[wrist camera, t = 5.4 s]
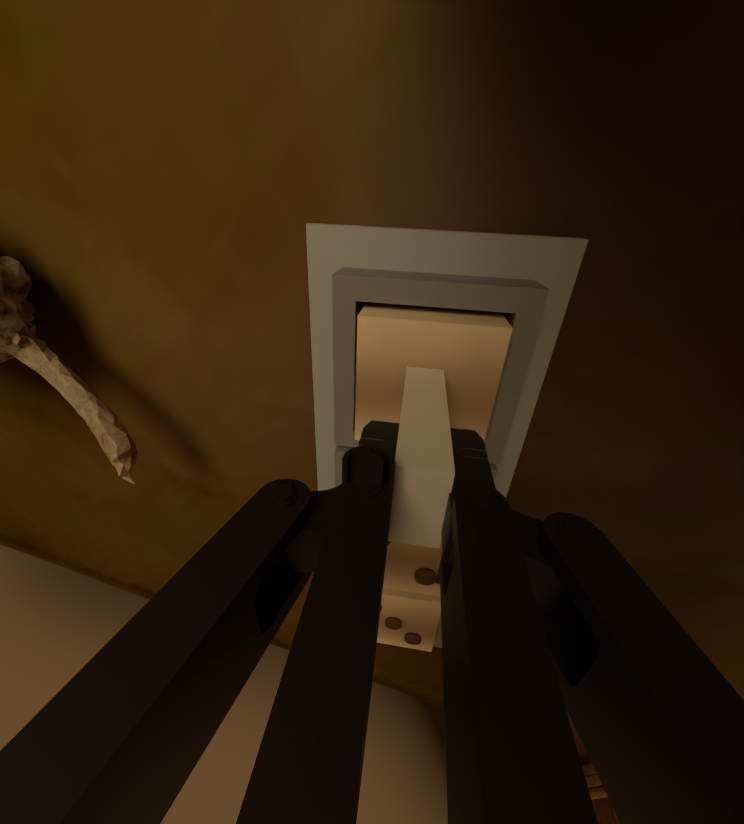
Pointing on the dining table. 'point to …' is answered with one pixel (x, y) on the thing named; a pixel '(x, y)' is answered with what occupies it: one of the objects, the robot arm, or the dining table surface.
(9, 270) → the pine cone
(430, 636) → the tile
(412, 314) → the tan square block
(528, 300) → the button board
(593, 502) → the dining table surface
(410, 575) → the tile
